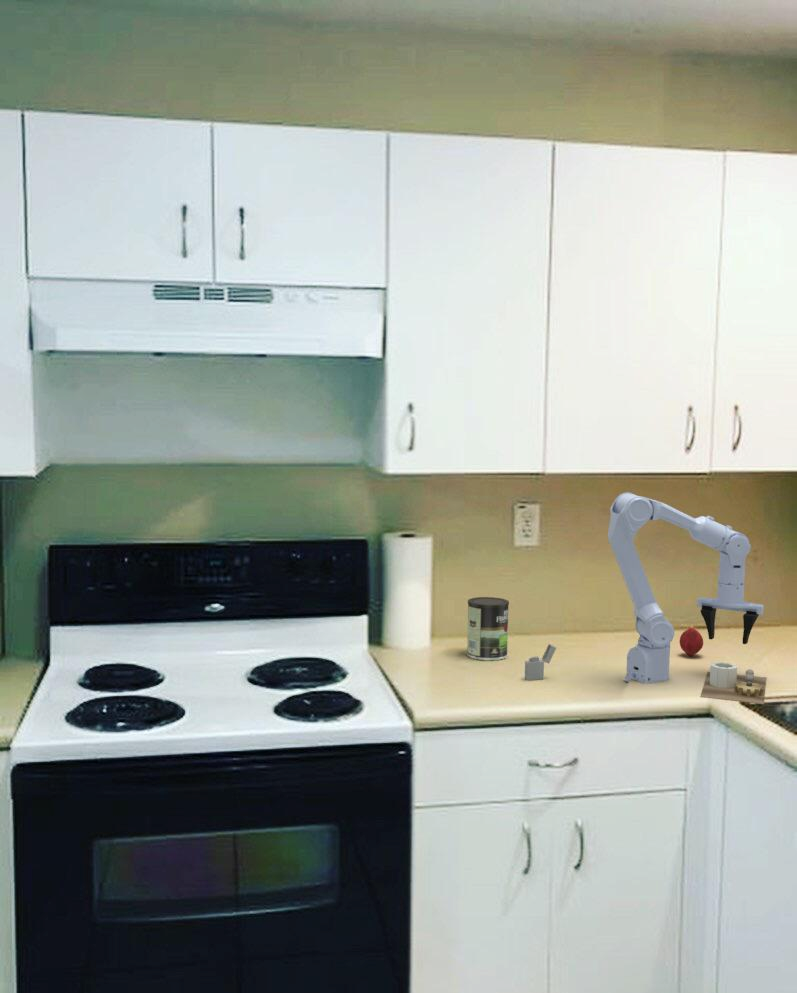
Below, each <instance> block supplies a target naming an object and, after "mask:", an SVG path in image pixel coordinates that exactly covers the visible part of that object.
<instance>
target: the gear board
mask: <svg viewBox="0 0 797 993" xmlns="http://www.w3.org/2000/svg"><path fill="white" fill-rule="evenodd" d="M766 687H767V677H764V676H756V675H755V672H754V670H752V669H750V668H749V669H747V670H746V671H745V674H737V680H736V683H735V685H734V688H720V687H715V686H712V685H710V671H707V673H706V676H705V680H704V684H703V687H702V689H701V693H700V696H699V697H700V698H704V699H712V700H713V699H714V700H724V701H730V702H740V703H749V704H758V705H765V699H766V698H765V697H766Z"/></svg>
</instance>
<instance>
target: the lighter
mask: <svg viewBox="0 0 797 993" xmlns="http://www.w3.org/2000/svg"><path fill="white" fill-rule="evenodd" d="M556 650H557V647H556V646H555V645H553V644H550V643H548V645H547V646H546V649H545V652H544V654H543V656H542V657H541V659H540V657H539V656H536V655H535V656H530V657H529V658H528V659H527V660H525V661H524V680H525V681H528V682H529V681H531V682H532V681H543V680H544V679H545V678H544V674H545V672H544V671H545V663H547V664H550V662H551V660H552V658H553V656H554V654H555V652H556Z"/></svg>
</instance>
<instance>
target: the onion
mask: <svg viewBox="0 0 797 993" xmlns="http://www.w3.org/2000/svg"><path fill="white" fill-rule="evenodd" d="M679 646H680V649H681V650H682V651H683V652H684V653H685V654H686V655H687V656H688V657H693V656H694V655H697V654H698V652H700V651H701V650H702V648H703V647H704V639H703V636H702V635H701V633H700V632H699V631H698V630H697V629H696V628H695V626H694V625H693V624H691V625H690V626H689V627H688V629H686V630H684V631H683V632H682V633H681V635H680V637H679Z"/></svg>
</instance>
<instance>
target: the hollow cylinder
mask: <svg viewBox="0 0 797 993" xmlns="http://www.w3.org/2000/svg"><path fill="white" fill-rule="evenodd" d="M709 669H710V670H709V672H710V685H712V686H715V687H720V688H734V685H735V683H736V680H737V675H738V665H737V664H734V663H731V662H724V661H716V662H710V667H709Z"/></svg>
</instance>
